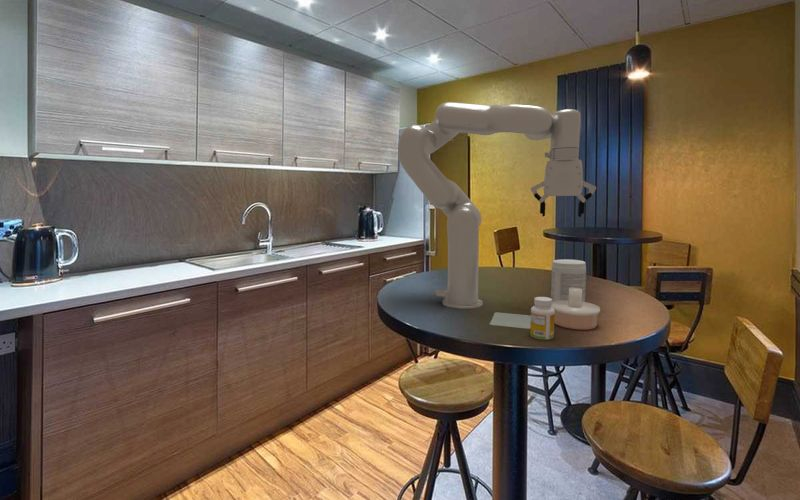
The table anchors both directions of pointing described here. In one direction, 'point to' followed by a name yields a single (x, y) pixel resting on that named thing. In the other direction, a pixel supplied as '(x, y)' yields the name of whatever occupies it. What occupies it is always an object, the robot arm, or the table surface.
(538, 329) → the supplement bottle
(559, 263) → the supplement tub
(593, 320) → the bowl
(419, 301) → the table surface
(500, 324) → the mat
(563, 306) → the lid
